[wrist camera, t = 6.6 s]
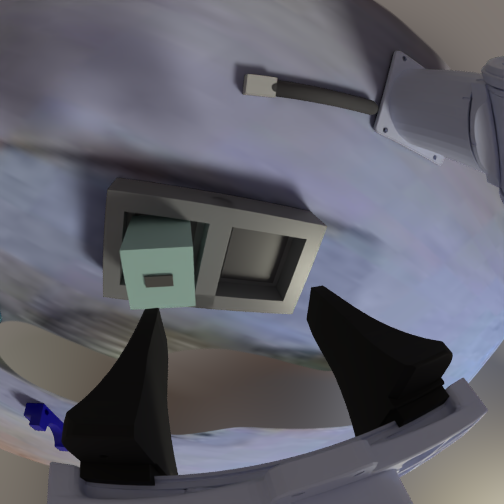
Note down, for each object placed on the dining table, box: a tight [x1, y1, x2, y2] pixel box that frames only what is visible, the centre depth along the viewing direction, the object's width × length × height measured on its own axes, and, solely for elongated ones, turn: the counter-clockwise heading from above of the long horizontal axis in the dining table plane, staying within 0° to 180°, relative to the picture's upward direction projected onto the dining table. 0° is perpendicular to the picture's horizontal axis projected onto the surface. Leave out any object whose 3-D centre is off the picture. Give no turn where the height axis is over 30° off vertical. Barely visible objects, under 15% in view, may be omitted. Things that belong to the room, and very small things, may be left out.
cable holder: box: [24, 403, 68, 451], centre depth 28 cm, size 8×4×4 cm, turn 4°
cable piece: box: [243, 74, 378, 115], centre depth 18 cm, size 11×1×1 cm, turn 84°
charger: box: [120, 215, 196, 310], centre depth 18 cm, size 4×4×5 cm
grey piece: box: [103, 178, 327, 314], centre depth 21 cm, size 15×8×3 cm, turn 74°
